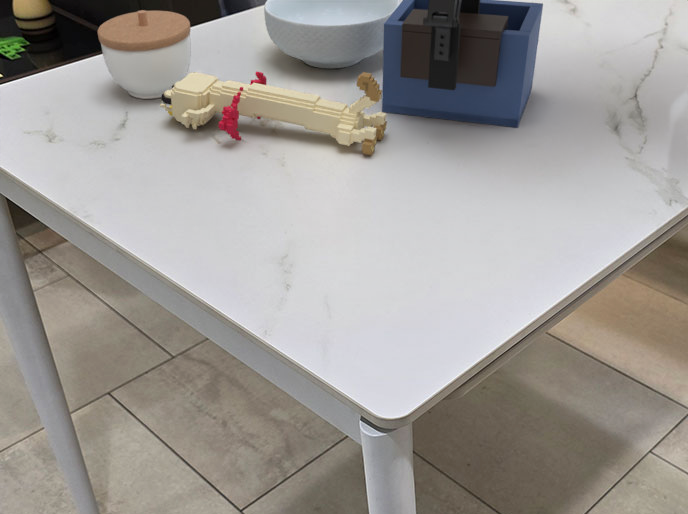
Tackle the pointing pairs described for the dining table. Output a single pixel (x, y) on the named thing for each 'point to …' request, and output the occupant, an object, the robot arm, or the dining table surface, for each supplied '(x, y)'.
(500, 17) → the dark brown block
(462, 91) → the blue box
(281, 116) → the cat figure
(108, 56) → the trinket box
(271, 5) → the cereal bowl
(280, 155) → the dining table surface
